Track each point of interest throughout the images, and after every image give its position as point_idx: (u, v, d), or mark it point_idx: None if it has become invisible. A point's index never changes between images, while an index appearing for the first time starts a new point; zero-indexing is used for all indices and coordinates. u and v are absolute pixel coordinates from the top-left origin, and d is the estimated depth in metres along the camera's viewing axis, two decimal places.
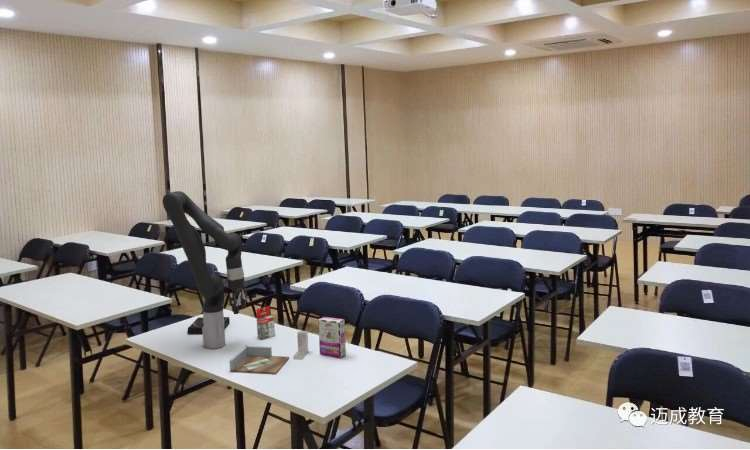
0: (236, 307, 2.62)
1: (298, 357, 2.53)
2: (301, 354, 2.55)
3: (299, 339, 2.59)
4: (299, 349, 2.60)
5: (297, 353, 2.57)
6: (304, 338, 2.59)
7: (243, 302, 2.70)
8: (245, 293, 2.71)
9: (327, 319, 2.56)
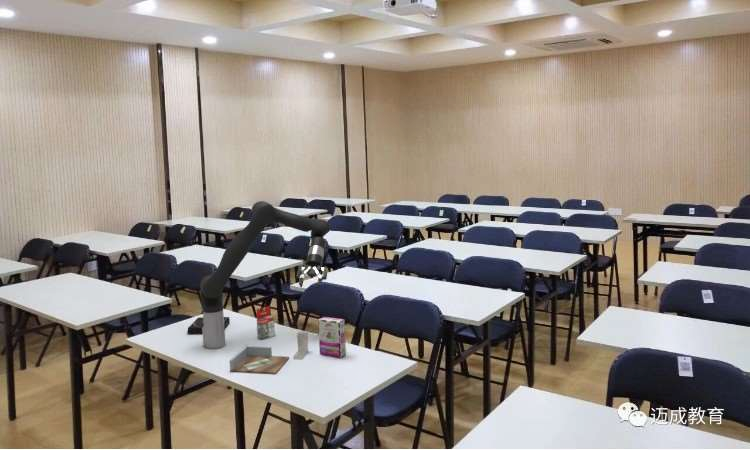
0: None
1: (298, 357, 2.53)
2: (301, 354, 2.55)
3: (299, 339, 2.59)
4: (299, 349, 2.60)
5: (297, 353, 2.57)
6: (304, 338, 2.59)
7: (302, 281, 2.73)
8: (300, 274, 2.76)
9: (327, 319, 2.56)
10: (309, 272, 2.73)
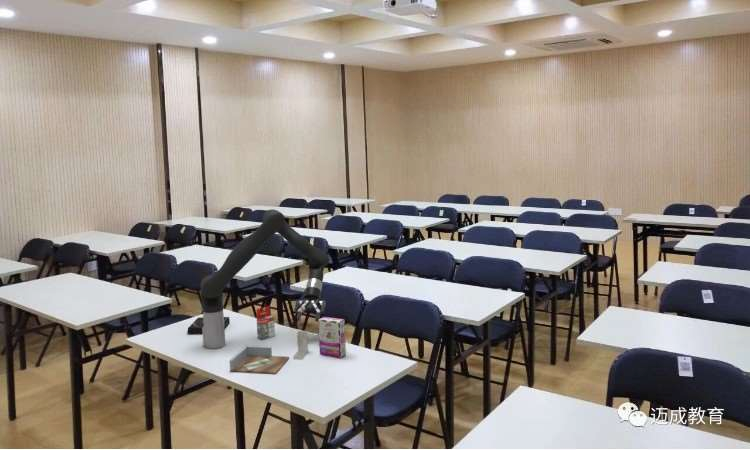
0: None
1: (298, 357, 2.53)
2: (301, 354, 2.55)
3: (299, 339, 2.59)
4: (299, 349, 2.60)
5: (297, 353, 2.57)
6: (304, 338, 2.59)
7: (300, 315, 2.70)
8: (298, 308, 2.73)
9: (327, 319, 2.56)
10: (307, 306, 2.71)
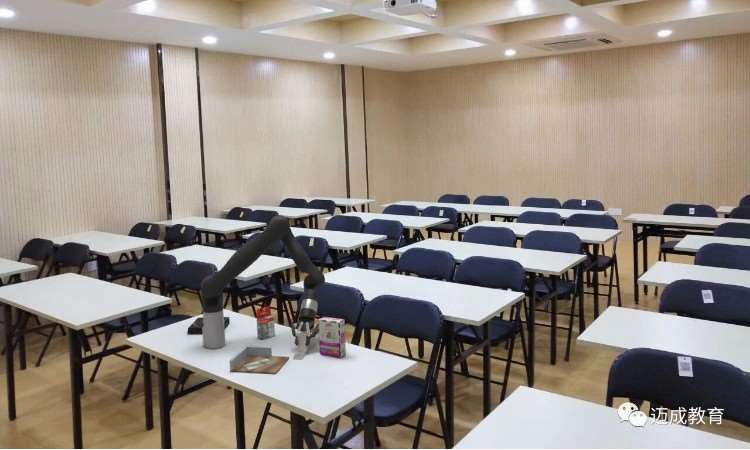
0: None
1: (298, 357, 2.53)
2: (301, 354, 2.55)
3: (299, 339, 2.59)
4: (299, 349, 2.60)
5: (297, 353, 2.57)
6: (304, 338, 2.59)
7: None
8: None
9: (327, 319, 2.56)
10: (303, 327, 2.63)
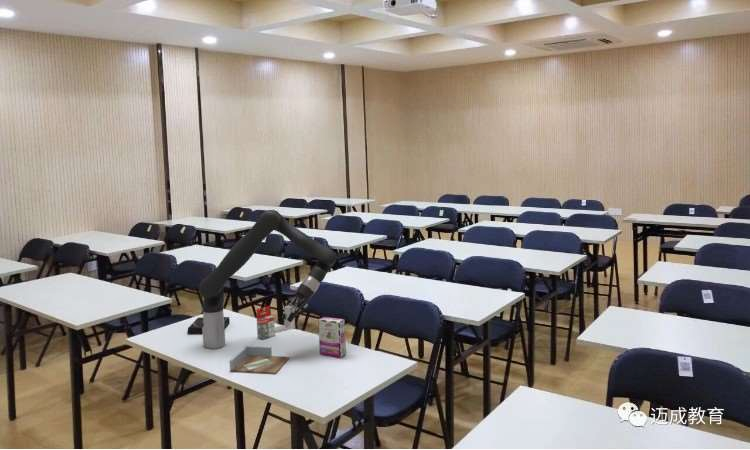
0: None
1: (274, 330, 2.49)
2: (280, 328, 2.50)
3: (285, 313, 2.54)
4: (286, 323, 2.54)
5: (279, 326, 2.52)
6: (288, 313, 2.52)
7: None
8: None
9: (327, 319, 2.56)
10: (294, 303, 2.55)
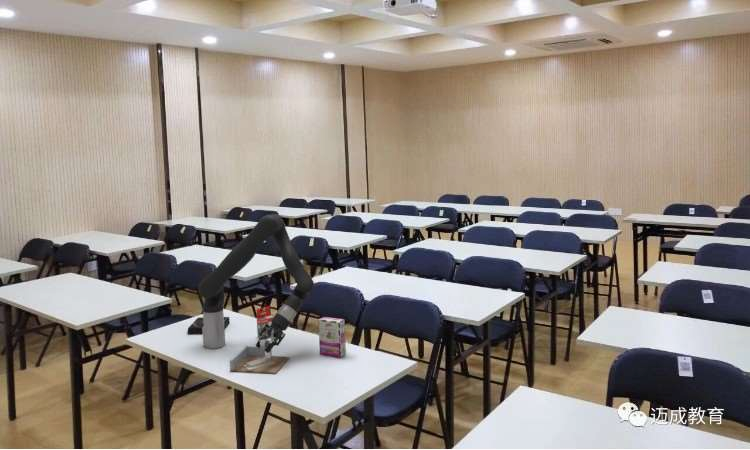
0: None
1: (249, 365, 2.43)
2: (255, 363, 2.44)
3: (261, 347, 2.47)
4: (261, 357, 2.48)
5: (254, 361, 2.46)
6: (263, 347, 2.45)
7: None
8: None
9: (327, 319, 2.56)
10: (269, 333, 2.49)
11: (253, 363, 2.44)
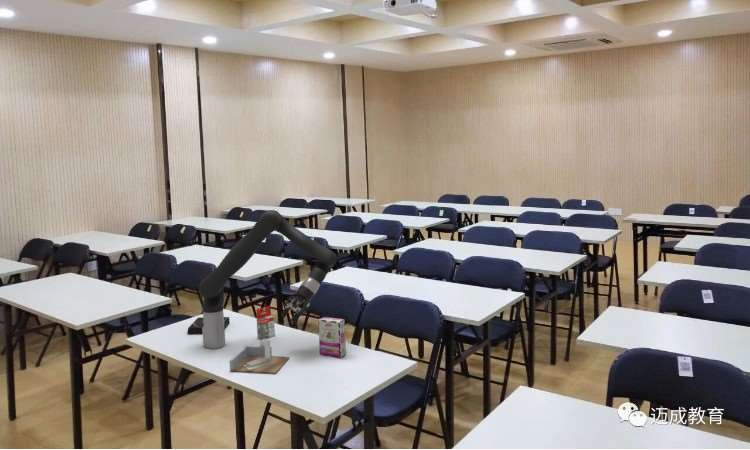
0: None
1: (249, 365, 2.43)
2: (255, 363, 2.44)
3: (261, 347, 2.47)
4: (261, 357, 2.48)
5: (254, 361, 2.46)
6: (263, 347, 2.45)
7: (287, 312, 2.57)
8: None
9: (327, 319, 2.56)
10: (293, 304, 2.56)
11: (253, 363, 2.44)
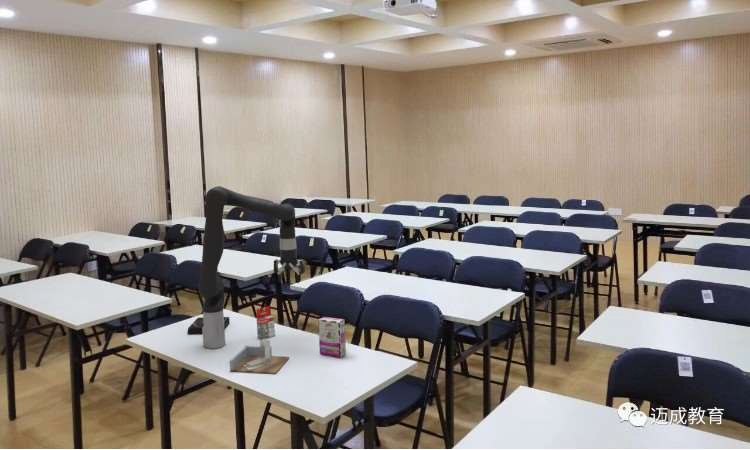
0: None
1: (249, 365, 2.43)
2: (255, 363, 2.44)
3: (261, 347, 2.47)
4: (261, 357, 2.48)
5: (254, 361, 2.46)
6: (263, 347, 2.45)
7: (281, 275, 2.67)
8: (277, 266, 2.68)
9: (327, 319, 2.56)
10: (286, 267, 2.65)
11: (253, 363, 2.44)
